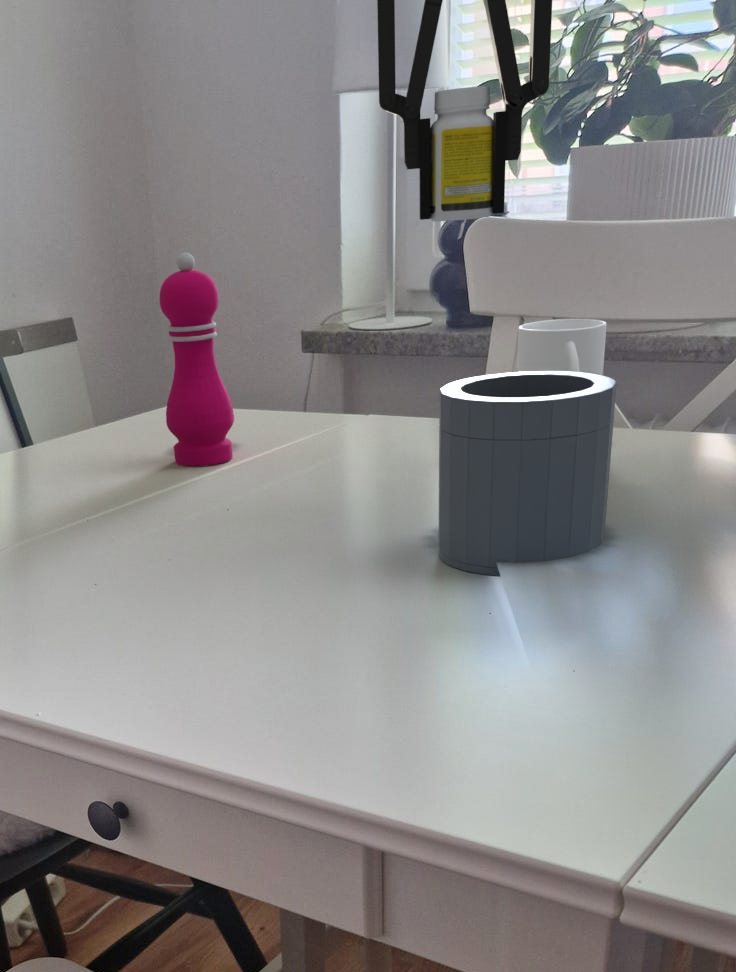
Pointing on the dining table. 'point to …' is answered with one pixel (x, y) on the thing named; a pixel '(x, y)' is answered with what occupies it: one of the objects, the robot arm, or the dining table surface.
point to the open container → (523, 467)
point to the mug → (562, 346)
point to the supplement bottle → (461, 155)
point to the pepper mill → (195, 369)
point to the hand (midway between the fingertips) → (461, 214)
